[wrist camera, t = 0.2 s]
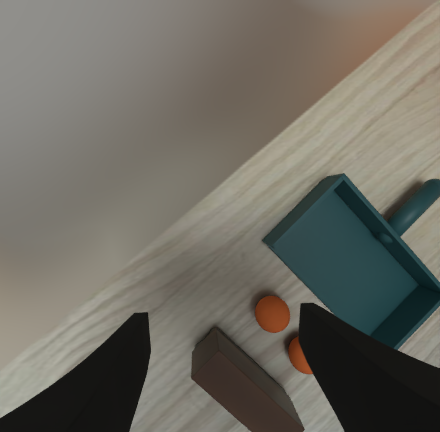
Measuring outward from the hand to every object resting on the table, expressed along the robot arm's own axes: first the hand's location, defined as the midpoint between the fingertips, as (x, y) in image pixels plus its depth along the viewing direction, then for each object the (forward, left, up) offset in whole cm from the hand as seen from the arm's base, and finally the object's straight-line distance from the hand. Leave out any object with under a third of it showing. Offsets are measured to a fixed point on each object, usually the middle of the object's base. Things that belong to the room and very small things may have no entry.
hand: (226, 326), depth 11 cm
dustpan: (+12, -9, -11) cm, 19 cm away
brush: (-5, -9, -11) cm, 15 cm away
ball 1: (+1, -7, -9) cm, 11 cm away
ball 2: (0, -12, -9) cm, 15 cm away
